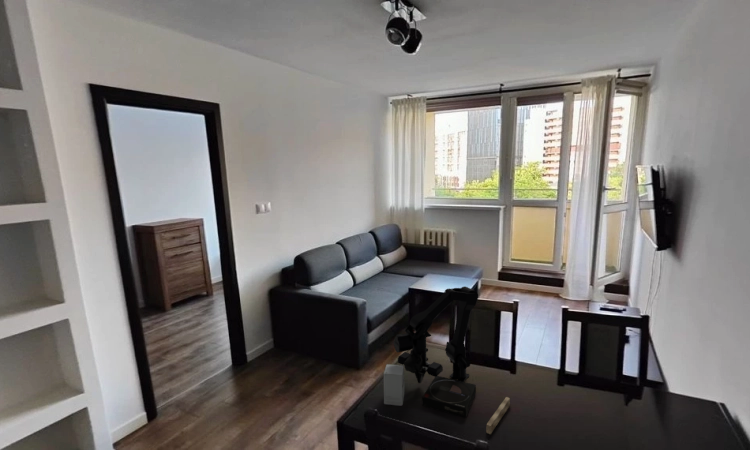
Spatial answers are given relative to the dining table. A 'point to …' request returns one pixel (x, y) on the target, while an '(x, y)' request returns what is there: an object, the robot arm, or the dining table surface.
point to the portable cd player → (449, 396)
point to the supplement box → (394, 385)
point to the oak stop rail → (498, 415)
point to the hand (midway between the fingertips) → (419, 382)
